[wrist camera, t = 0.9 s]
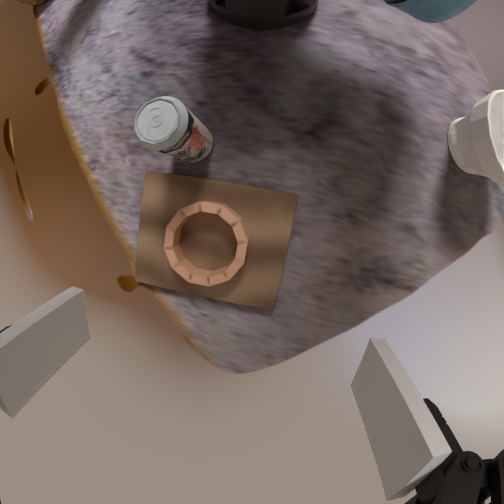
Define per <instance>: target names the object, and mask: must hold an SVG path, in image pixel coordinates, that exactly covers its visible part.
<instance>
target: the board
mask: <svg viewBox="0 0 504 504" xmlns="http://www.w3.org/2000/svg"><path fill="white" fill-rule="evenodd" d="M297 200H298V195H295V194H290V193H285V192H280V191H275V190H270V189H265V188H260V187H254V186H249V185H243V184H237V183H231V182H225V181H219V180H213V179H206V178H199V177H192V176H185V175H178V174H170V173H162V172H153V171H147V172H146V178H145V184H144V191H143V199H142V206H141V215H140V224H139V234H138V245H137V259H136V277H135V281H137V282H141V283H145V284H149V285H153V286H158V287H162V288H166V289H170V290H175V291H179V292H183V293H188V294H192V295H197V296H202V297H206V298H211V299H216V300H221V301H226V302H231V303H236V304H241V305H246V306H251V307H257V308H262V309H268V310H274V306H275V302H276V298H277V293H278V289H279V284H280V280H281V276H282V271H283V267H284V262H285V258H286V253H287V248H288V244H289V239H290V234H291V229H292V225H293V220H294V215H295V210H296V205H297ZM199 201H211V202H216V203H222V204H226V205H227V206H228V207H230V208H231V209H232V210H233V211H234V212H236V213H237V214H238V215H239V216H240V217H241V218H242V220H243V222H244V225H245V228H246V231H247V233H248V236H249V241H248V247H247V252H246V257H245V261H244V264H243V265H242V266H241V268H240V269H239V270H238V271H237V272H236V273H235V274H234V275H233V277H232V278H231V279H230V280H228V281H225V282H222V283H219V284H216V285H213V286H204V285H199V284H195V283H190V282H188V281H186V280H185V279H184V278H183V277H182V276H180V275H179V274H178V273H177V272H176V271H175V270H173V269H172V267H171V265H170V262H169V260H168V257H167V255H166V252H165V250H164V242H165V234H166V227H167V225H168V224H169V223H170V221H171V220H172V218H173V217H174V216H175V214H176V213H177V212H178V210H179V209H182V208H184V207H187V206H189V205H192V204H194V203H197V202H199ZM179 244H180V246H181V249H182V252H183V254H184V257H185V258H186V259H187V260H188V261H189V262H190V263H192V264H193V265H194V266H195V267H196V268H199V269H204V270H209V271H214V270H217V269H220V268H223V267H226V266H228V264H229V263H230V262H231V261H232V260H233V259H234V258H235V256H236V250H237V245H238V242H237V239H236V236H235V234H234V231H233V228H232V226H231V225H230V224H229V223H228V222H226V221H225V220H224V219H223V218H222V217H221V216H219V215H218V214H214V213H208V212H202V211H201V212H198V213H195V214H193V215H191V216H190V217H189V218H188V220H187V221H186V222H185V223H184V225H183V226H182V227H181V233H180V241H179Z"/></svg>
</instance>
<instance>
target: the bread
mask: <svg viewBox="0 0 504 504" xmlns="http://www.w3.org/2000/svg"><path fill="white" fill-rule="evenodd" d="M18 1H20V2H23V3H27V4H31V5H40V4H42V3H43V2H44V1H46V0H18Z"/></svg>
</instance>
